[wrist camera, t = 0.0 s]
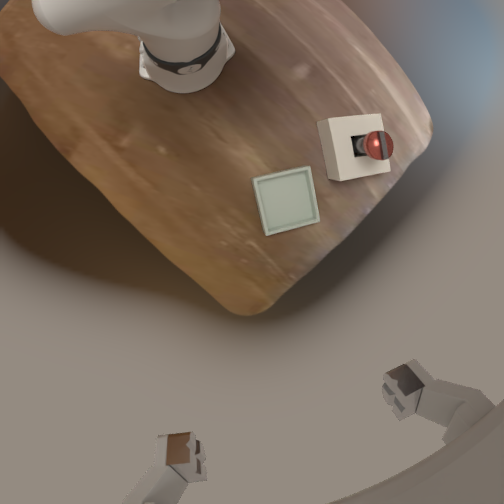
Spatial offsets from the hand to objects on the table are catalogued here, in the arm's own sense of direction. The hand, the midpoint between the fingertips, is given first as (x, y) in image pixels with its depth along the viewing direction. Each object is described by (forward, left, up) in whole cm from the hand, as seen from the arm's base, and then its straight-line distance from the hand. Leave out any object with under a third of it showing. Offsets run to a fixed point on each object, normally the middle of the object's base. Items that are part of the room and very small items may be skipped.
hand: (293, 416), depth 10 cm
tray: (+1, +12, -48) cm, 49 cm away
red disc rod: (-7, +28, -48) cm, 56 cm away
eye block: (-7, +28, -48) cm, 56 cm away
